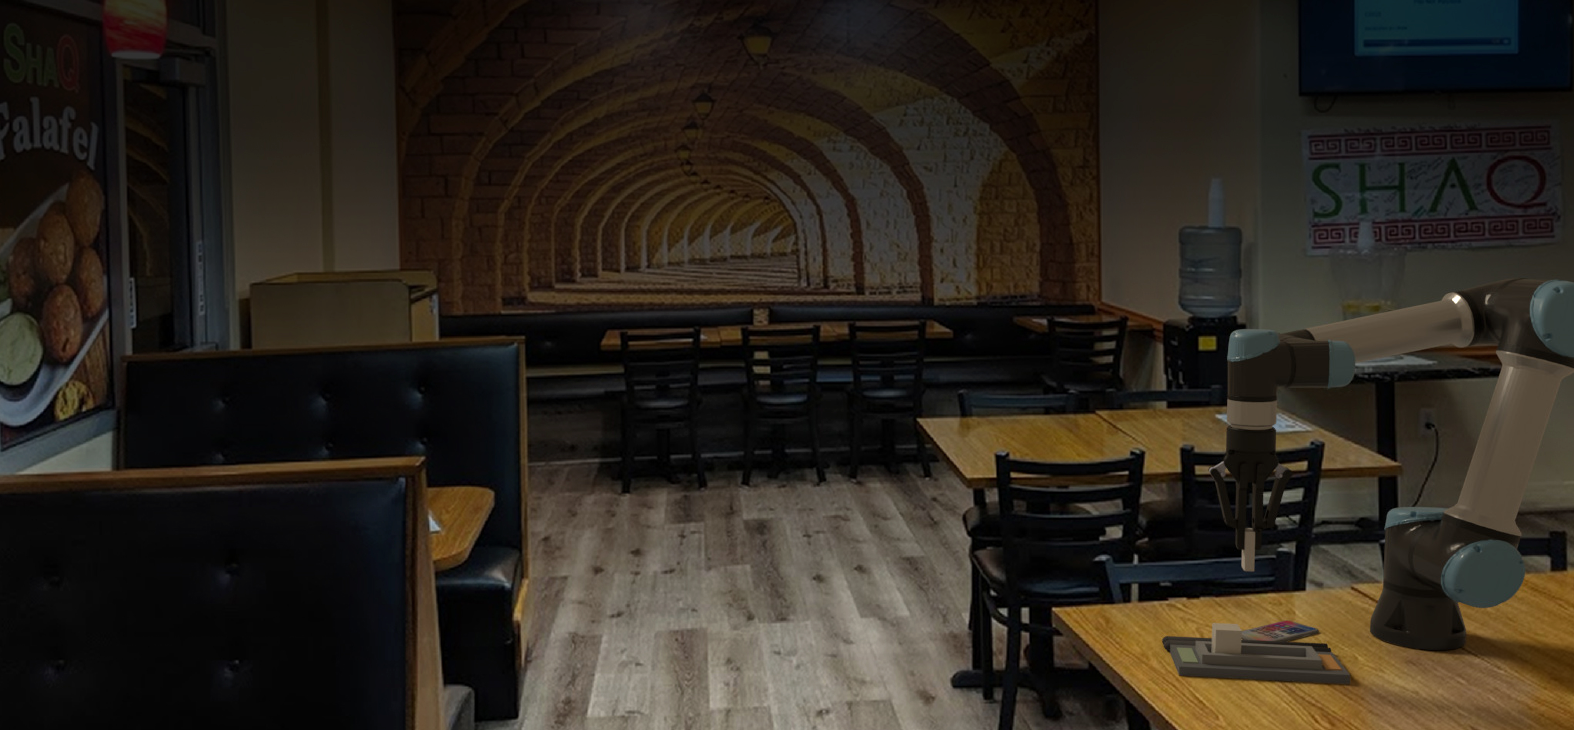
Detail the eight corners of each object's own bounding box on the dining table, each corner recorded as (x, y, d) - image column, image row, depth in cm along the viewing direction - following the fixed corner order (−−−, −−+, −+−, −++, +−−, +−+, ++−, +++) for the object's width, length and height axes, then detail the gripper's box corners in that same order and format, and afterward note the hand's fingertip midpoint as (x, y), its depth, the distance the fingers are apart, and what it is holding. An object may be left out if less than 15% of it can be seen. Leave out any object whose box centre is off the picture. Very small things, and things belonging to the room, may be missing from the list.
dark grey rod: (1325, 652, 216) (1325, 642, 216) (1327, 655, 214) (1328, 645, 214) (1161, 644, 220) (1161, 634, 220) (1162, 647, 218) (1162, 637, 218)
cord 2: (1328, 656, 214) (1328, 646, 213) (1331, 660, 212) (1331, 649, 212) (1162, 648, 218) (1163, 638, 218) (1164, 652, 216) (1164, 641, 216)
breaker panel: (1331, 660, 211) (1332, 643, 211) (1349, 684, 201) (1350, 665, 200) (1170, 653, 216) (1170, 635, 215) (1179, 675, 205) (1179, 657, 204)
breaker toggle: (1236, 653, 210) (1237, 624, 210) (1240, 660, 207) (1241, 630, 206) (1211, 652, 211) (1212, 622, 210) (1215, 659, 207) (1216, 629, 207)
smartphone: (1230, 632, 225) (1286, 619, 233) (1230, 637, 225) (1286, 624, 233) (1265, 643, 219) (1322, 629, 226) (1265, 649, 219) (1321, 634, 226)
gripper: (1288, 422, 207) (1284, 564, 209) (1205, 421, 209) (1202, 561, 211) (1299, 429, 199) (1295, 576, 202) (1212, 428, 202) (1209, 574, 204)
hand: (1247, 568), depth 207 cm, fingers closed
